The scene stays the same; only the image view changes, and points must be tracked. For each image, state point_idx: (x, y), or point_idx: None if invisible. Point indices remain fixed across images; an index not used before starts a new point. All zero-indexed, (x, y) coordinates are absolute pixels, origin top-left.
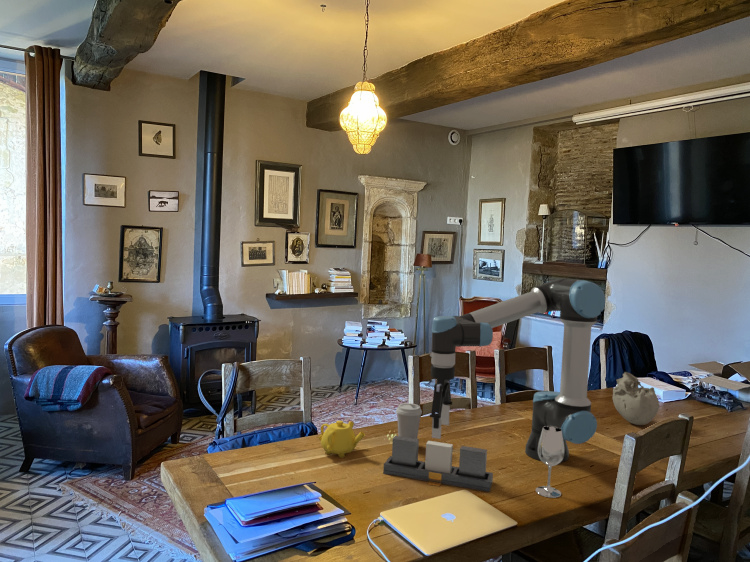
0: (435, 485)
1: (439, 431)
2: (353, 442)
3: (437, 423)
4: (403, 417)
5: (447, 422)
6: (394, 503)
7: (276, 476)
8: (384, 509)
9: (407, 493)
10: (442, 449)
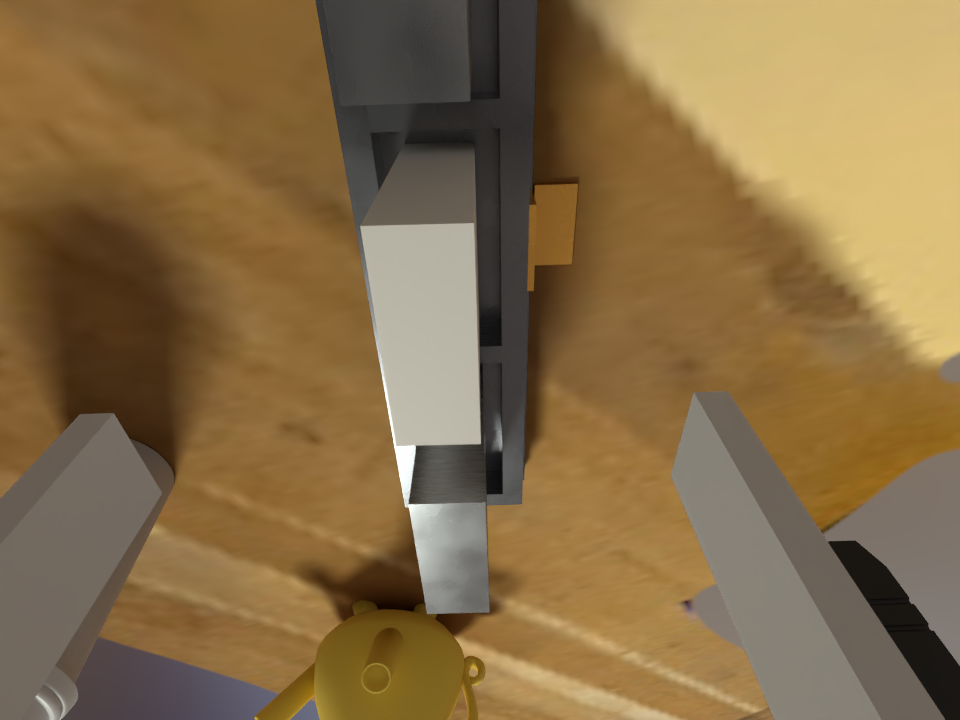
0: (574, 210)
1: (772, 481)
2: (402, 649)
3: (937, 647)
4: (77, 661)
5: (98, 455)
6: (850, 347)
7: (671, 670)
8: (917, 367)
9: (722, 324)
10: (476, 295)
